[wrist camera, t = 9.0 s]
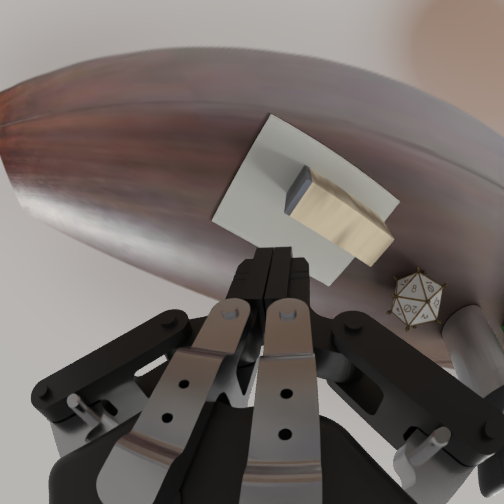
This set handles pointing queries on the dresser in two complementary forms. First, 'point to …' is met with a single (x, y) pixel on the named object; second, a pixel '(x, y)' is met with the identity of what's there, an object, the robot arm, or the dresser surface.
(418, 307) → the game die
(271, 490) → the robot arm
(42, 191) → the dresser surface
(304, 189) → the maple block
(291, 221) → the felt mat
